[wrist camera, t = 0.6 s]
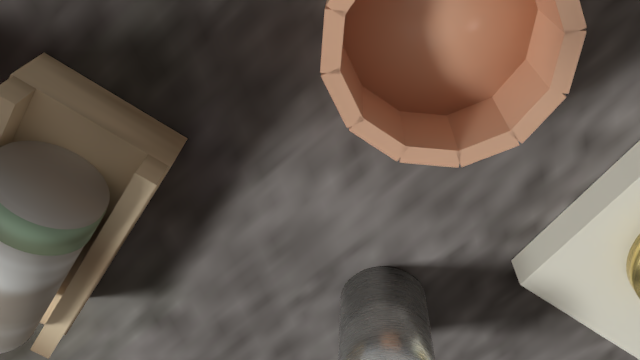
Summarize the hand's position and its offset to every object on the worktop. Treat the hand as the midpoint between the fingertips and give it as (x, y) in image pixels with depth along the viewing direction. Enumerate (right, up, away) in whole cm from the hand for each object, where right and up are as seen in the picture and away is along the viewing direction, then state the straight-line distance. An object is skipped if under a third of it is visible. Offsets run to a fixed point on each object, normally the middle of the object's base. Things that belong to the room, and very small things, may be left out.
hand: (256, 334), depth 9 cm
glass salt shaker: (+4, -3, +17) cm, 18 cm away
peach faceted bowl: (+5, +8, +11) cm, 15 cm away
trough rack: (-9, +2, +15) cm, 18 cm away
